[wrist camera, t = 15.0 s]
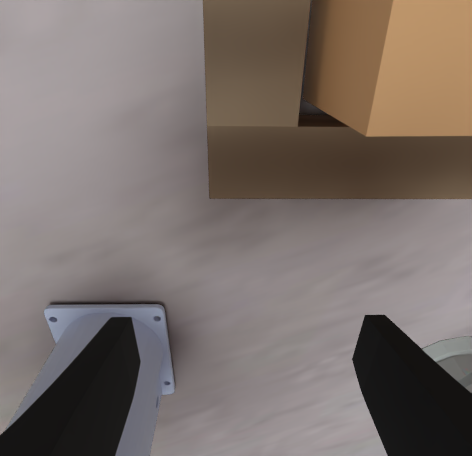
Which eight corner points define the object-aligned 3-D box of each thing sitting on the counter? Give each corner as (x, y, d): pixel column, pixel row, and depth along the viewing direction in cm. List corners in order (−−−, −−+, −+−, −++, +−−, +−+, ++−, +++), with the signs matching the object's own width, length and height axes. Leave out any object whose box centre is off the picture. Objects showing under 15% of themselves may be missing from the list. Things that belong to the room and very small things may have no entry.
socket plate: (445, 177, 17) (484, 199, 15) (212, 176, 17) (209, 198, 14) (556, -133, 11) (652, -188, 9) (203, -143, 11) (196, -204, 9)
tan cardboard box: (383, 98, 15) (514, 135, 8) (302, 98, 15) (366, 136, 8) (405, -2, 13) (599, -64, 6) (312, -2, 13) (405, -65, 6)
